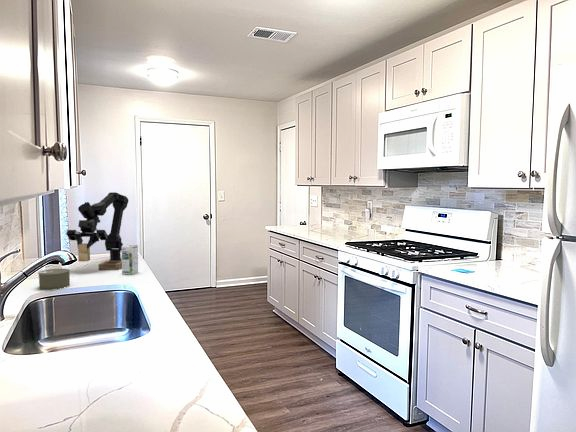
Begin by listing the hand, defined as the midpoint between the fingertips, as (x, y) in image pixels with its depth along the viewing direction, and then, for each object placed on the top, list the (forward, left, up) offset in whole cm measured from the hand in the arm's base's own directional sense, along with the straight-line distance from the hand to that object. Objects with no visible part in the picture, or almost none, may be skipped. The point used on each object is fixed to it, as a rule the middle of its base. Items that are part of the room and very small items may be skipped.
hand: (82, 248), depth 204 cm
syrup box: (+9, +21, -13) cm, 27 cm away
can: (+24, -10, -13) cm, 29 cm away
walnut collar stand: (-9, +13, -13) cm, 21 cm away
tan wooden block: (-1, 0, -7) cm, 7 cm away
